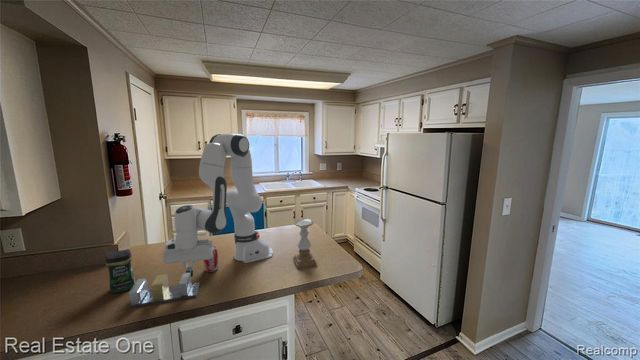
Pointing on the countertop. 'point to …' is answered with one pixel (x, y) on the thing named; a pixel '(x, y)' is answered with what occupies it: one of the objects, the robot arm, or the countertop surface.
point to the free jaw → (185, 282)
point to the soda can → (212, 261)
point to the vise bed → (145, 296)
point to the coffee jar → (120, 271)
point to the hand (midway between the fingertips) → (189, 269)
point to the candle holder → (304, 246)
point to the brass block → (160, 287)
